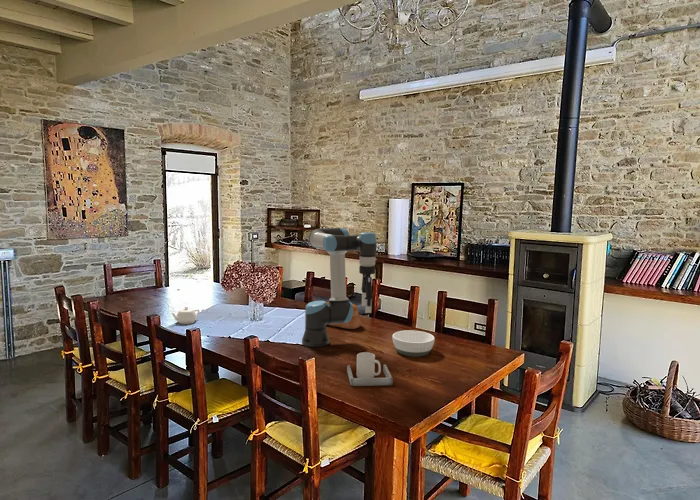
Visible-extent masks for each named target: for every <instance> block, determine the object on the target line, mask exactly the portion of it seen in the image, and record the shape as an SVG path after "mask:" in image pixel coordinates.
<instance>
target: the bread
mask: <svg viewBox="0 0 700 500" xmlns="http://www.w3.org/2000/svg"><path fill="white" fill-rule="evenodd" d="M326 303H329V301H326ZM352 305H353V306H352V307H353V315H352V318H351V320H350V321H349V322H347V323H337V324H326V326H327V325H328V326H331V327H337V328H340V329H341V328H342V329H348V330H354V329H355V330H356V329H357V328H360V327H361V324H362V321H361V316H360V314H359V308H358V306H357V305H356V304H354V303H352Z"/></svg>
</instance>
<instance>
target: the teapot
mask: <svg viewBox="0 0 700 500" xmlns="http://www.w3.org/2000/svg"><path fill="white" fill-rule="evenodd" d="M196 312H197V313H196ZM199 314H200V310H199V309H194V308H189V307H188V306H184V308H182V309H179V310H178V312H177V314H176V315H175V313H174V312H172V313H171V315H172V316H173V318H174V320H175V321H176V322H177V323H179V324H181V325H190V324H194V323H195V321H197V317H198V316H199Z"/></svg>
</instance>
